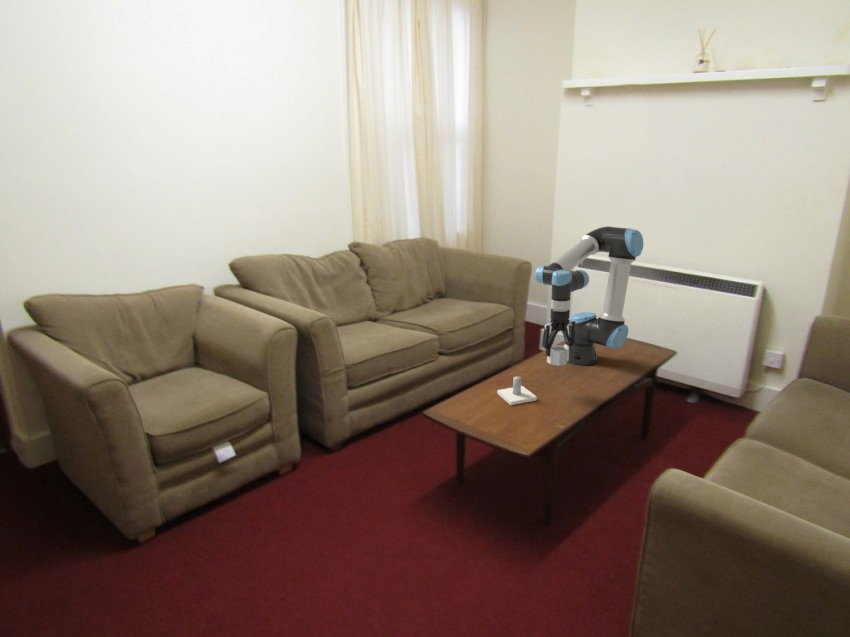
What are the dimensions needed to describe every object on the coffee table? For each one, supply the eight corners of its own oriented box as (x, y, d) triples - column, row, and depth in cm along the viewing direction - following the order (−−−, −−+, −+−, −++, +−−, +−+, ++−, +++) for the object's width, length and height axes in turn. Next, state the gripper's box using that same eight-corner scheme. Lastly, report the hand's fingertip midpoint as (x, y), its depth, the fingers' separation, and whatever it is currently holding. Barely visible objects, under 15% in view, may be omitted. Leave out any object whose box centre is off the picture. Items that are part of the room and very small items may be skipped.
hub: (560, 357, 240) (560, 344, 238) (570, 363, 233) (570, 350, 231) (545, 360, 237) (546, 347, 235) (555, 366, 231) (555, 352, 229)
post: (522, 388, 244) (522, 370, 241) (536, 400, 233) (537, 381, 230) (497, 393, 240) (497, 375, 237) (510, 405, 229) (511, 386, 227)
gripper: (576, 303, 235) (573, 354, 242) (533, 309, 228) (531, 362, 235) (586, 308, 228) (583, 360, 235) (543, 314, 221) (541, 368, 229)
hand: (557, 361), depth 235 cm, fingers closed on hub, 7 cm apart
